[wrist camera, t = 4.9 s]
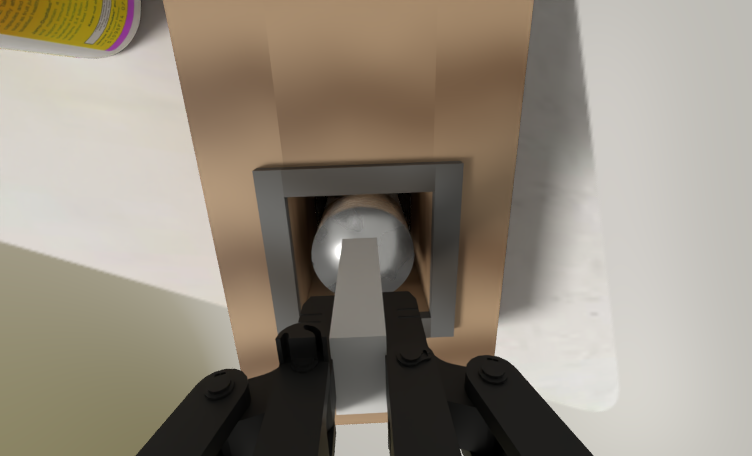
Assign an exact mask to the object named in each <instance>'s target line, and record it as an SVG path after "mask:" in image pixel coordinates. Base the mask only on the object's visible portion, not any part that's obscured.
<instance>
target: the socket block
mask: <svg viewBox="0 0 752 456" xmlns="http://www.w3.org/2000/svg"><path fill="white" fill-rule="evenodd" d="M533 3H534V0H163V4H164V8H165V13H166V18H167V23H168V27H169V32H170V37H171V42H172V46H173V51H174V56H175V61H176V65H177V70H178V75H179V80H180V84H181V89H182V94H183V99H184V103H185V108H186V113H187V117H188V122H189V127H190V132H191V136H192V141H193V146H194V151H195V155H196V160H197V165H198V170H199V174H200V179H201V184H202V189H203V193H204V198H205V203H206V208H207V212H208V217H209V222H210V226H211V231H212V236H213V241H214V245H215V250H216V255H217V260H218V264H219V269H220V274H221V279H222V283H223V288H224V293H225V298H226V302H227V307H228V312H229V316H230V321H231V325H232V330H233V335H234V340H235V345H236V350H237V354H238V359H239V363H240V369H241V371H243V372H244V374H245V375H246V376H247V378H248V379H250V378H253V377H257V376H260V375H264V374H266V373H269V372H271V371H273V370H275V369H276V368H278V367H279V359H278V353H277V347H276V341H275V339H276V337H277V335H278V334H279V333H280V332H281V331H282V330H283V329H285V328H286V327H288V326H291V325H293V324H296V323H298V321H299V317H300V313H301V310H302V306H303V304H304V303H305V302H306V301H307V300H308V299H309V298H310V297H311V296H330V295H335V293H334V292H332V291H331V290H329V289H328V288H327V287H326V286H325V285H324V284H323V283H322V282H321V281H320V279H319V278H318V276H317V274H316V272H315V270H314V267H313V263H312V254H311V252H312V245H313V241H314V238H315V235H316V232H317V229H318V226H317V216H316V206H315V196H333V195H359V194H385V193H411V239H412V242H413V246H414V262H413V266H412V269H411V272H410V274H409V275H408V277H407V279H406V280H405V281H404V283H403V284H402V285H401V286H400V287H399V288H397V289H396V290H395V291H393V292H397V291H409V292H410V293H411V294H412V295H413V296H414V297H415V298H416V300H417V304H418V309H419V312H420V317H421V320H422V324H423V328H424V332H425V336H426V340H427V344H428V347H429V348H430V349H431V350H432V351H433V353H434V355H435V356H436V357H438V358H439V359H441V360H443V361H445V362H448V363H451V364H456V365H461V366H466V365H467V363H468V362H469V361H470V360H471V359H472V358H474V357H477V356H480V355H491V356H494V354H495V345H496V336H497V327H498V318H499V309H500V300H501V291H502V282H503V273H504V264H505V255H506V246H507V237H508V228H509V219H510V210H511V201H512V192H513V183H514V174H515V165H516V156H517V147H518V138H519V129H520V120H521V111H522V102H523V93H524V84H525V75H526V66H527V57H528V48H529V39H530V30H531V21H532V12H533ZM384 422H388V413H387V412H385V413H366V414H346V415H336V410H335V425H344V424H364V423H384Z"/></svg>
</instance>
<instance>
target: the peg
mask: <svg viewBox="0 0 752 456" xmlns="http://www.w3.org/2000/svg"><path fill="white" fill-rule="evenodd" d="M376 237H377V244H378V254H379V265H380V275H381V286H382V292H393V291H395V290H396V289H397V288H399V287H400V286H401V285H402V284H403V283H404V281H405V280H406V279H407V277H408V275H409V274H410V272H411V269H412V266H413V262H414V246H413V242H412V239H411V235H410V232H409V229H408V226H407V223H406V220H405V217H404V214H403V211H402V208H401V204H400V201H399V198H398V195H397V193H385V194H359V195H333V196H328V199H327V202H326V205H325V208H324V211H323V214H322V217H321V220H320V223H319V226H318V229H317V232H316V235H315V238H314V241H313V245H312V252H311V254H312V263H313V267H314V270H315V272H316V274H317V276H318V278H319V279H320V281H321V282H322V283H323V284H324V285H325V286H326V287H327V288H328V289H329V290H331V291H332V292H334V293H335V290H336V283H337V275H338V268H339V260H340V253H341V245H342V239H352V238H376Z"/></svg>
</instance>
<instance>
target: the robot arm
mask: <svg viewBox="0 0 752 456" xmlns="http://www.w3.org/2000/svg"><path fill="white" fill-rule="evenodd" d="M275 341H276V347H277V353H278V359H279V367H278V368H276V369H275V370H273V371H271V372H269V373H266V374H264V375H260V376H257V377H253V378H250V379H248V378H247V376H246V375H245V374H244V372H243V371H240V370H237V369H224V370H220V371H217V372H214V373H212V374H210V375H208V376H206V377H205V378H204V379H202V380H201V381H200V382H199V383H198V384H197V385H196V386H195V387H194V388H193V389H192V391H191V392H190V393H189V394H188V395H187V396H186V398H185V399H184V400H183V401H182V402H181V403H180V405H179V406H178V407H177V408H176V409H175V410H174V412H173V413H172V414H171V415H170V416H169V417H168V419H167V420H166V421H165V422H164V423H163V424H162V426H161V427H160V428H159V429H158V430H157V431H156V433H155V434H154V435H153V436H152V437H151V438H150V440H149V441H148V442H147V443H146V444H145V445H144V447H143V448H142V449H141V450H140V451H139V452H138V454H137V455H136V456H334V453H335V438H336V427H335V410H336V415H346V414H366V413H385V412H387V413H388V447H389V450H390V456H462V455H461V452H460V449H461V450H462V454H463V455H464V456H593V455H592V453H591V452H590V451H589V450H588V449H587V448H586V447H585V446H584V444H583V443H582V442H581V441H580V440H579V439H578V438H577V437H576V435H575V434H574V433H573V432H572V431H571V430H570V429H569V428H568V426H567V425H566V424H565V423H564V422H563V421H562V420H561V419H560V418H559V416H558V415H557V414H556V413H555V412H554V411H553V410H552V408H551V407H550V406H549V405H548V404H547V403H546V402H545V400H544V399H543V398H542V397H541V396H540V395H539V394H538V392H537V391H536V390H535V389H534V388H533V387H532V386H531V385H530V383H529V382H528V381H527V380H526V379H525V378H524V377H523V376H522V374H521V373H520V372H519V371H518V370H517V369H516V368H515V367H514V366H513V365H512V364H511V363H509V362H508V361H506V360H504V359H502V358H500V357H497V356H491V355H480V356H477V357H474V358H472V359H471V360H470V361H469V362H468V363H467V365H466V366H461V365H456V364H451V363H448V362H445V361H443V360H441V359H439V358H438V357H436V356H435V355H434V353H433V351H432V350H431V349H430V348H429V347H428V344H427V340H426V336H425V332H424V328H423V324H422V320H421V317H420V312H419V309H418V304H417V300H416V298H415V297H414V296H413V295H412V294H411V293H410V292H409V291H397V292H382V286H381V275H380V265H379V254H378V244H377V237H376V238H352V239H342V245H341V253H340V260H339V268H338V275H337V283H336V290H335V295H330V296H311V297H310V298H309V299H308V300H307V301H306V302H305V303H304V304H303V306H302V310H301V313H300V317H299V321H298V323H296V324H293V325H291V326H288V327H286V328H285V329H283V330H282V331H281V332H280V333H279V334H278V335H277V337H276V339H275Z"/></svg>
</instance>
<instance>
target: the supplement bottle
mask: <svg viewBox="0 0 752 456" xmlns="http://www.w3.org/2000/svg"><path fill="white" fill-rule="evenodd" d="M140 16H141V0H0V49H8V50H17V51H25V52H34V53H42V54H51V55H59V56H68V57H76V58H88V59H99V58H105V57H109V56H112V55H114V54H116V53H118V52H120V51H121V50H123V49H124V48H125V47H126V46H127V45H128V44H129V43H130V42H131V40H132V39H133V37H134V36H135V34H136V32H137V29H138V26H139V22H140Z"/></svg>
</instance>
